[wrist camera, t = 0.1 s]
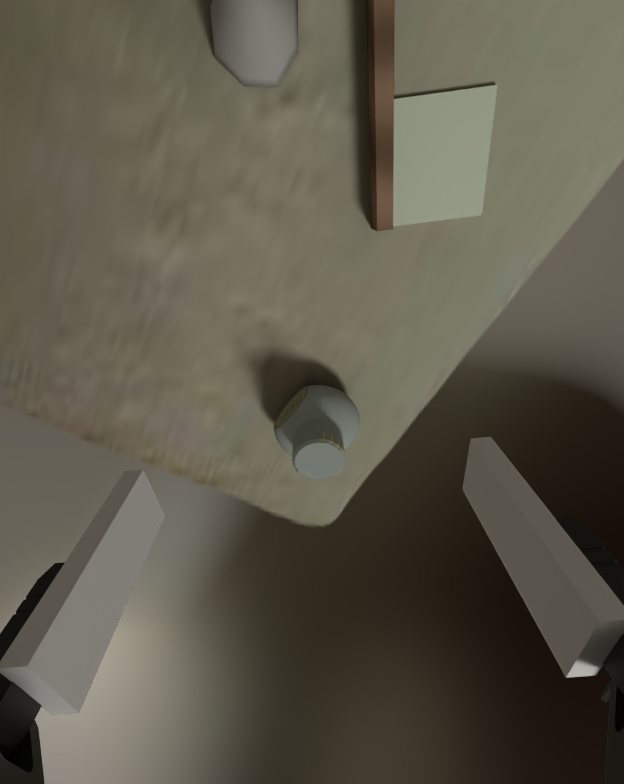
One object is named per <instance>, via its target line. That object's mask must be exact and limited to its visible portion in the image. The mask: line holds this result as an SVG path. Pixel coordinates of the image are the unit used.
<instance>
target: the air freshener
mask: <svg viewBox="0 0 624 784" xmlns="http://www.w3.org/2000/svg"><path fill="white" fill-rule="evenodd" d="M359 428H360V417H359V413H358V410H357V408H356V406H355V404H354V403H353V401H352V400H351V399H350V398H349V397H348V396H347V395H346V394H344V393H343V392H341V391H340V390H338V389H336V388H333V387H329V386H324V385H311V386H306V387H304V388H302V389H301V390H300V391H299V392H298V393H296V394H295V395H294V396H293V398H292V399H291V400H290V401H289V402H288V403H287V405H286V406H285V407H284V408H283V410H282V411H281V413H280V414H279V416H278V418H277V419H276V421H275V424H274V433H275V436H276V439H277V440H278V442H279V444H280V445H281V447H282V448H283V449H284V450H285V451H286V452H287V453H289V454H290V455H292V462H293V466H294V467H295V468H296V471H297V472H298V473H300V474H301V475H302V476H304V477H306V478H308V479H313V480H324V479H328V478H331V477H333V476H335V475H336V474H338V473H339V472H340V471H341V470H342V468H343V467H344V465H345V461H346V456H345V449H346V448H347V447H348V446H349V445H350V444H351V442H352V441H353V440H354V438H355V437H356V435H357V433H358V431H359Z"/></svg>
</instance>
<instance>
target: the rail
mask: <svg viewBox="0 0 624 784" xmlns="http://www.w3.org/2000/svg"><path fill="white" fill-rule="evenodd" d="M367 45H368V89H369V134H370V178H371V222H372V229H373V230H376V231H382V230H390V229H393V165H394V0H367Z"/></svg>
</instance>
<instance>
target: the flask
mask: <svg viewBox="0 0 624 784" xmlns="http://www.w3.org/2000/svg"><path fill="white" fill-rule="evenodd" d="M210 15H211V25H212V36H213V47H214V57H215V59H216V60H217V61H218V62H219V63H220V64H221V65H222V66H224V67H225V68H226V69H227V70H228V71H229V72H230V73H231V74H232V75H233V76H234V77H235V78H236V79H237V80H238V81H239V82H240V83H241V84H243V85H244V86H259V87H278V86H279V84H280V82H281V81H282V79H283V77H284V75H285V73H286V72H287V70H288V68H289V66H290V64H291V63H292V61H293V59H294V57H295V55H296V54H297V52H298V0H213V1H212V3H211V6H210Z"/></svg>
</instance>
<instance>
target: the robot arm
mask: <svg viewBox="0 0 624 784" xmlns="http://www.w3.org/2000/svg"><path fill="white" fill-rule="evenodd" d="M463 491H464V493H465V495H466V497H467V498H468V500H469V502H470V504H471V506H472V507H473V509H474V511H475V513H476V515H477V516H478V518H479V520H480V522H481V524H482V526H483V527H484V529H485V531H486V533H487V535H488V537H489V538H490V540H491V542H492V544H493V546H494V547H495V549H496V551H497V553H498V555H499V557H500V558H501V560H502V562H503V564H504V566H505V567H506V569H507V571H508V573H509V575H510V577H511V578H512V580H513V582H514V584H515V586H516V587H517V589H518V591H519V593H520V595H521V596H522V598H523V600H524V602H525V604H526V606H527V607H528V609H529V611H530V613H531V615H532V616H533V618H534V620H535V622H536V624H537V626H538V627H539V629H540V631H541V633H542V635H543V636H544V638H545V640H546V642H547V644H548V645H549V647H550V649H551V651H552V653H553V654H554V656H555V658H556V660H557V662H558V664H559V665H560V667H561V669H562V671H563V673H564V675H565V676H566V677H579V676H593V675H596V674H597V673H598V671H599V670H600V669H601V667H602V665H604V666H605V668H606V669H607V671H608V672H609V674H610V676H611V677H612V678H613V680H612V681H611V683H610V684H609V685H608V687H607V688H606V689H605V691H604V693H603V695H602V698H601V699H602V700H603V701H605V702H607V701H608V699H609V698H610V707H609V723H608V740H607V741H608V742H607V758H606V774H605V784H624V569H623V567H622V566H621V565H620V564H617V561H616V559H614V557H613V556H612V555H611V554H610V552H609V551H608V550H605V547H604V546H603V544H602V543H601V542H600V541H599V540H598V539H597V537H596V536H595V535H594V534H593V533H592V532H591V531H590V530H589V529H587V528H586V527H585V526H583V525H582V524H580V523H579V522H578V521H576V520H575V519H573V518H562V519H555V518H554V517H553V515H552V514H551V513H550V511H549V510H548V509H547V508H546V506H545V505H544V504H543V503H542V501H541V500H540V499H539V498H538V496H537V495H536V494H535V493H534V491H533V490H532V489H531V487H529V485H528V484H527V482H526V481H525V480H524V479H523V477H522V476H521V475H520V473H519V472H518V471H517V470H516V468H515V467H514V466H513V465H512V464H511V462H510V461H509V460H508V458H507V457H506V456H505V455H504V453H503V452H502V451H501V449H500V448H499V447H498V446H497V444H496V443H495V442H494V441H493V439H492V438H491V437H485V438H474V439H471V441H470V447H469V454H468V460H467V466H466V472H465V478H464V484H463ZM163 519H164V514H163V512H162V510H161V507H160V505H159V503H158V501H157V499H156V496H155V495H154V492H153V490H152V488H151V486H150V483H149V481H148V479H147V477H146V475H145V473H144V470H135V471H125V472H124V473H123V475H122V476H121V478H120V479H119V481H118V482H117V484H116V485H115V487H114V488H113V490H112V492H111V493H110V495H109V496H108V498H107V499H106V501H105V502H104V504H103V505H102V507H101V508H100V510H99V512H98V513H97V514H96V516H95V517H94V519H93V520H92V522H91V524H90V525H89V527H88V528H87V530H86V531H85V533H84V534H83V536H82V537H81V539H80V540H79V542H78V544H77V545H76V546H75V548H74V550H73V551H72V553H71V554H70V556H69V557H68V559H67V560H66V562H64V563H55V564H54V565H53V566H52V567H51V568H50V569H49V570H48V571H47V572H45V574H43V575H42V576H41V577H40V578H39V579H38V580H37V582H36V583H35V585H34V586H33V588H32V589H31V590H30V592H29V593H28V595H27V596H26V600H24V601H23V602H22V603H21V605H20V606H19V608H18V609H17V611H16V614H15V615H13V616H12V618H11V619H10V621H9V622H8V623H7V625H6V626H5V628H4V629H3V631H2V632H1V634H0V784H44V776H43V766H42V757H41V748H40V739H39V731H38V726H37V724H36V721H35V720H34V719H35V717H36V715H37V714H38V712H39V710H40V708H41V707H42V708H44V709H45V710H46V711H47V712H49V713H50V714H51V715H60V714H74V713H79V712H80V709H81V707H82V705H83V703H84V700H85V698H86V696H87V693H88V691H89V688H90V686H91V684H92V682H93V679H94V677H95V675H96V673H97V670H98V668H99V666H100V664H101V661H102V659H103V657H104V654H105V652H106V650H107V647H108V645H109V643H110V640H111V638H112V636H113V634H114V631H115V629H116V627H117V625H118V622H119V620H120V618H121V615H122V613H123V611H124V608H125V606H126V604H127V601H128V599H129V597H130V595H131V592H132V590H133V588H134V586H135V583H136V581H137V579H138V576H139V574H140V572H141V570H142V567H143V565H144V562H145V560H146V558H147V556H148V553H149V551H150V549H151V547H152V544H153V542H154V540H155V537H156V535H157V533H158V531H159V528H160V526H161V523H162V521H163Z"/></svg>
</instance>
